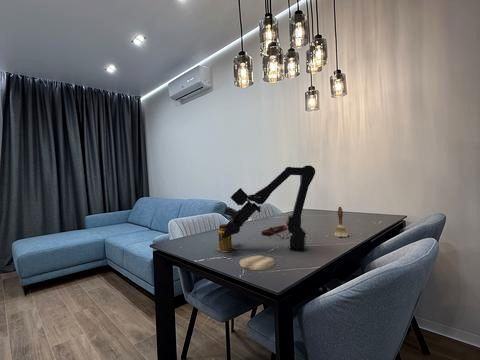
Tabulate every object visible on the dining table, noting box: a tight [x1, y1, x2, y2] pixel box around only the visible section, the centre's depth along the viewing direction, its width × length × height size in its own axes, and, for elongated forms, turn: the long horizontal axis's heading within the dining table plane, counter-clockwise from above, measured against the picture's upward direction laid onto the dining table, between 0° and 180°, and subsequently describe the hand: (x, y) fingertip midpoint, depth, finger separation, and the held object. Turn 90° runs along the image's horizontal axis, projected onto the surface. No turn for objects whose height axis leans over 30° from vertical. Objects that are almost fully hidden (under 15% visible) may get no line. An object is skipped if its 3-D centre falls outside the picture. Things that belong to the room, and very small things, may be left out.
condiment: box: [215, 223, 239, 253], centre depth 128 cm, size 7×8×12 cm
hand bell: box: [333, 206, 349, 236], centre depth 144 cm, size 8×8×16 cm
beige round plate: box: [238, 255, 275, 271], centre depth 107 cm, size 14×14×1 cm
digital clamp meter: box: [261, 224, 306, 241], centre depth 154 cm, size 23×4×25 cm
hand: (223, 236), depth 128 cm, fingers closed on condiment, 6 cm apart
